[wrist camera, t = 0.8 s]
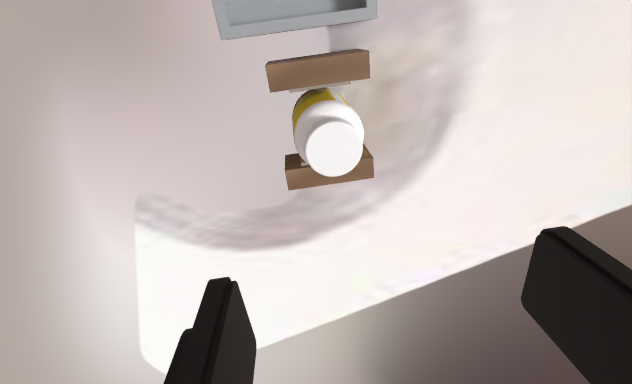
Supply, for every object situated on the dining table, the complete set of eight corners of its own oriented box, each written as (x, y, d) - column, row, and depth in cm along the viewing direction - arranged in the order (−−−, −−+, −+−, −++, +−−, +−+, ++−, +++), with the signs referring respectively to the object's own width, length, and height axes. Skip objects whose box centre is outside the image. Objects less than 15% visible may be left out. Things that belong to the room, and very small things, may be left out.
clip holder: (268, 61, 27) (265, 65, 23) (358, 48, 27) (368, 50, 23) (288, 173, 32) (288, 190, 28) (364, 161, 32) (373, 177, 28)
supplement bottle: (283, 130, 30) (282, 170, 21) (305, 76, 27) (313, 95, 19) (333, 151, 31) (351, 195, 22) (358, 100, 29) (388, 128, 20)
